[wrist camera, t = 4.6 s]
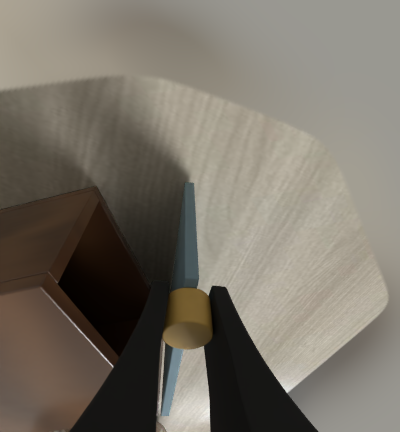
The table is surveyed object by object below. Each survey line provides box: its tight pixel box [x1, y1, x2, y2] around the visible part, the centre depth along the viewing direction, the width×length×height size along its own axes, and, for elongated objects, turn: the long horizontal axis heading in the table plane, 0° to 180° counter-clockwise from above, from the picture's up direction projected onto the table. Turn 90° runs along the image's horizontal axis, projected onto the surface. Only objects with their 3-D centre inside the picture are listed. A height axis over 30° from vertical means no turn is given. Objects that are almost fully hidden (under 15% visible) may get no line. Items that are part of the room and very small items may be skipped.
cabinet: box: [0, 186, 163, 432], centre depth 19 cm, size 14×15×8 cm
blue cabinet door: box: [161, 182, 213, 416], centre depth 18 cm, size 2×14×10 cm, turn 171°
